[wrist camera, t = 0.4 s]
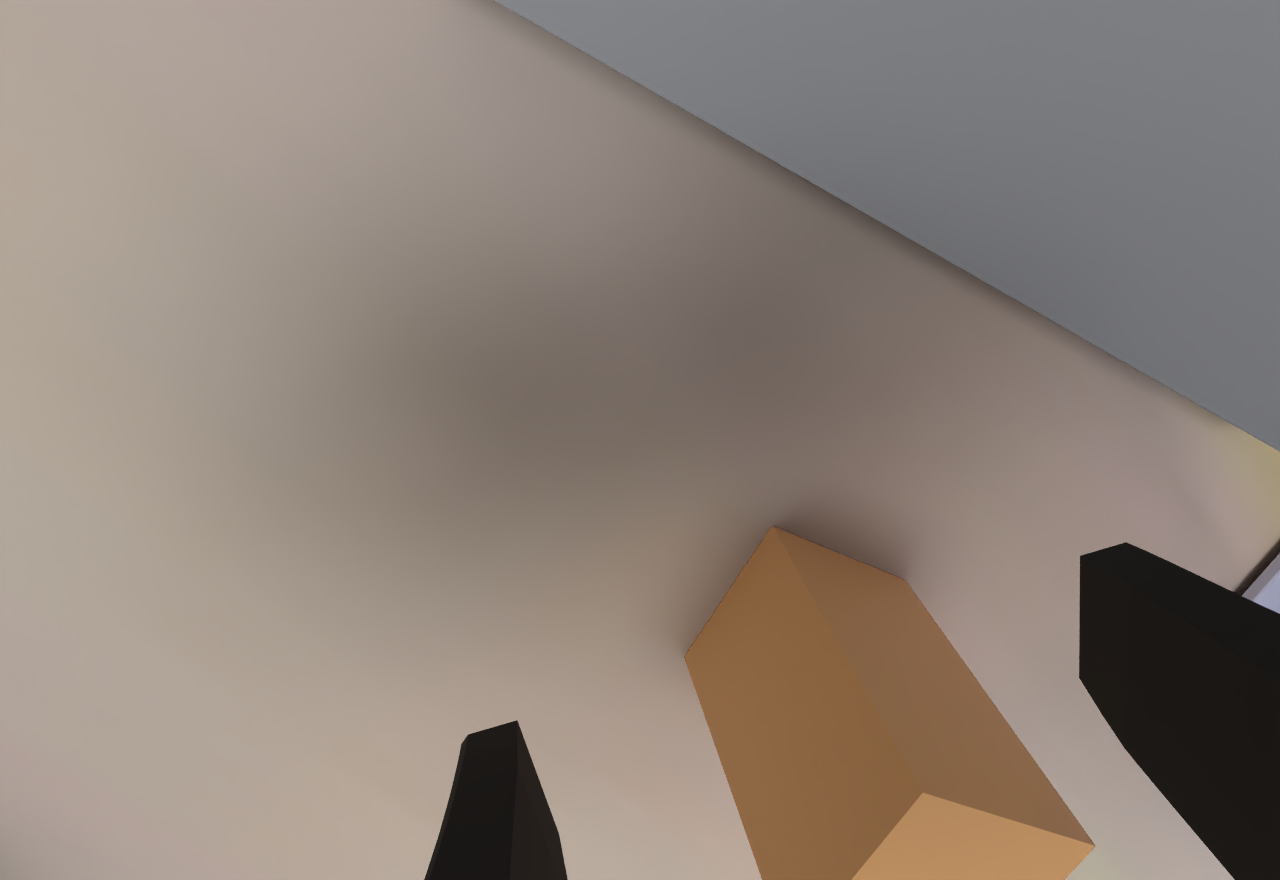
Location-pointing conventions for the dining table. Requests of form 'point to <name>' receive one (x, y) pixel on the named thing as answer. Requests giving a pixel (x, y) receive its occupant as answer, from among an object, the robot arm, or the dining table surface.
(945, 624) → the dining table surface
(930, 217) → the socket plate
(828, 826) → the plug
